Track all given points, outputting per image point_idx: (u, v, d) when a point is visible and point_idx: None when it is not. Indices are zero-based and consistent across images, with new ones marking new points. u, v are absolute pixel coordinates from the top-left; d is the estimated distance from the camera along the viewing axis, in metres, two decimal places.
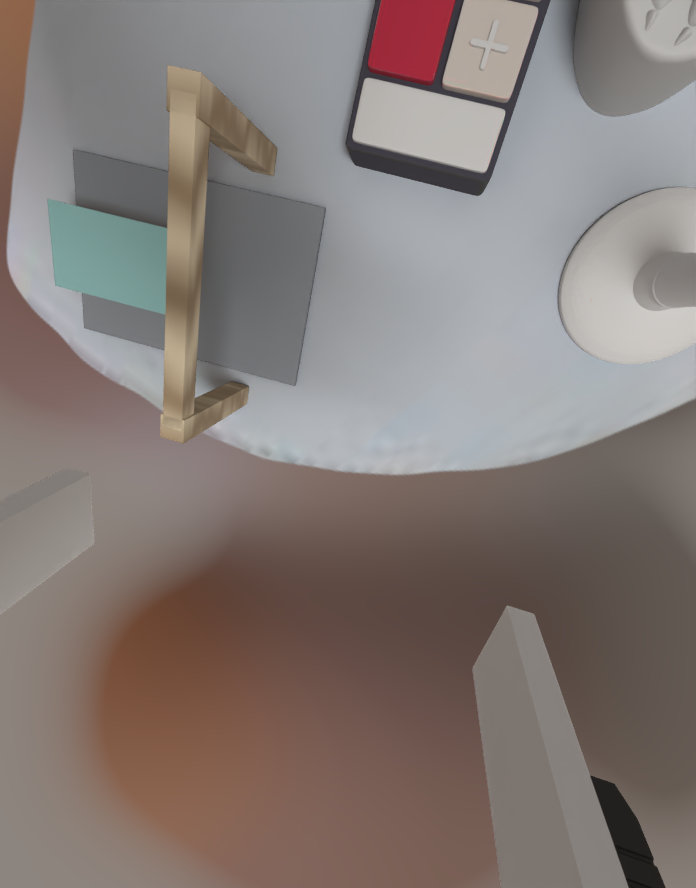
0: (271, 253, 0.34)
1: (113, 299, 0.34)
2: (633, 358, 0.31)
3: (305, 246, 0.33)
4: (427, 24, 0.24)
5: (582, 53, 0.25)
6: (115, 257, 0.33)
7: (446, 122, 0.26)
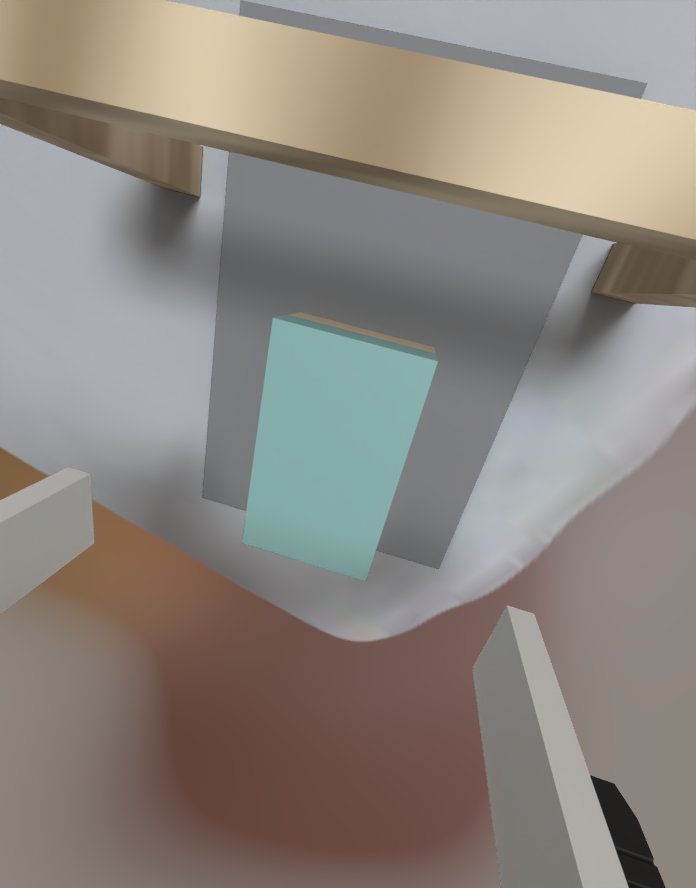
0: None
1: (393, 486, 0.17)
2: None
3: None
4: None
5: None
6: (321, 459, 0.18)
7: None
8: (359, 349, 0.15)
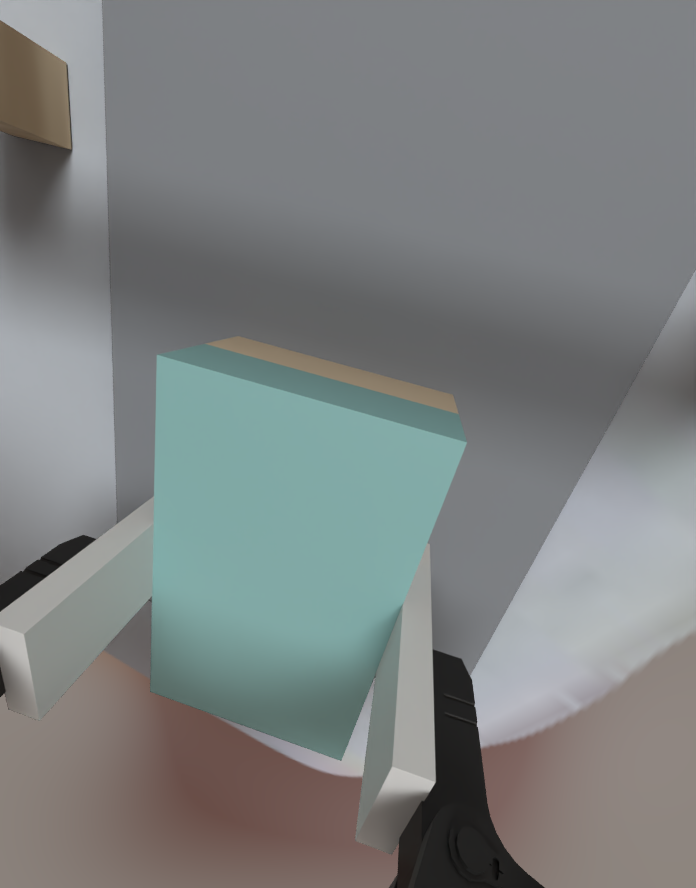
0: (265, 60, 0.09)
1: (384, 638, 0.10)
2: None
3: None
4: None
5: None
6: (260, 589, 0.10)
7: None
8: (317, 415, 0.08)
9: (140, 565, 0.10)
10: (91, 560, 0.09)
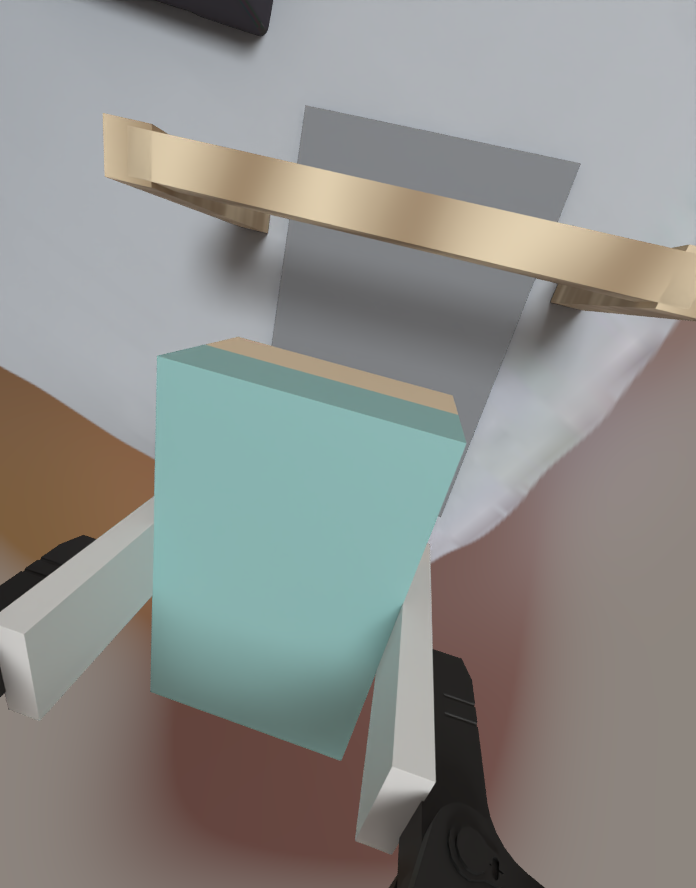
0: None
1: (384, 638, 0.10)
2: None
3: (353, 140, 0.22)
4: None
5: None
6: (260, 589, 0.10)
7: None
8: (317, 416, 0.08)
9: (140, 565, 0.10)
10: (91, 560, 0.09)
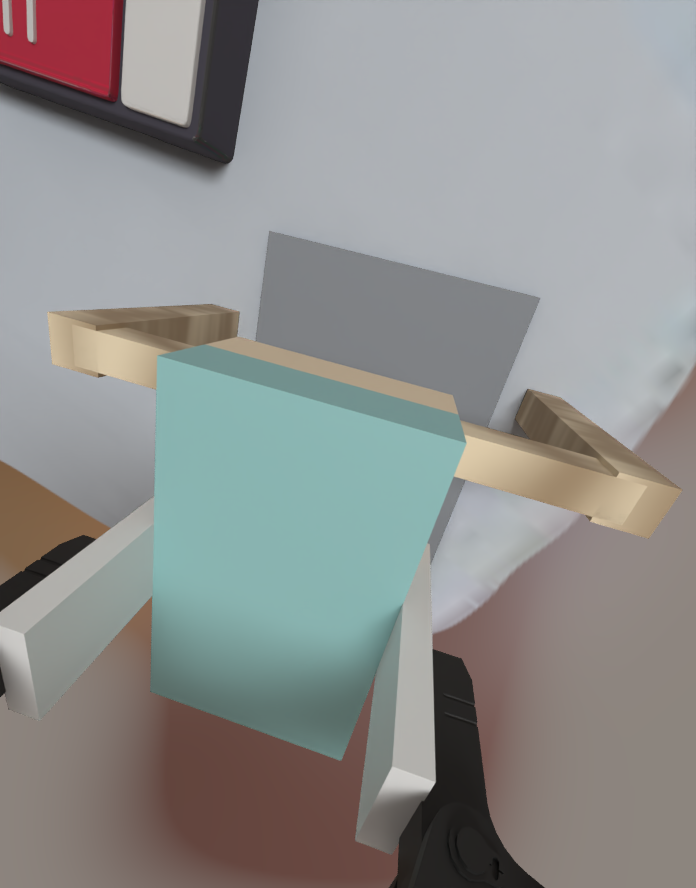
0: (326, 322, 0.23)
1: (384, 638, 0.10)
2: None
3: (317, 265, 0.22)
4: None
5: None
6: (260, 589, 0.10)
7: None
8: (317, 416, 0.08)
9: (140, 565, 0.10)
10: (91, 560, 0.09)
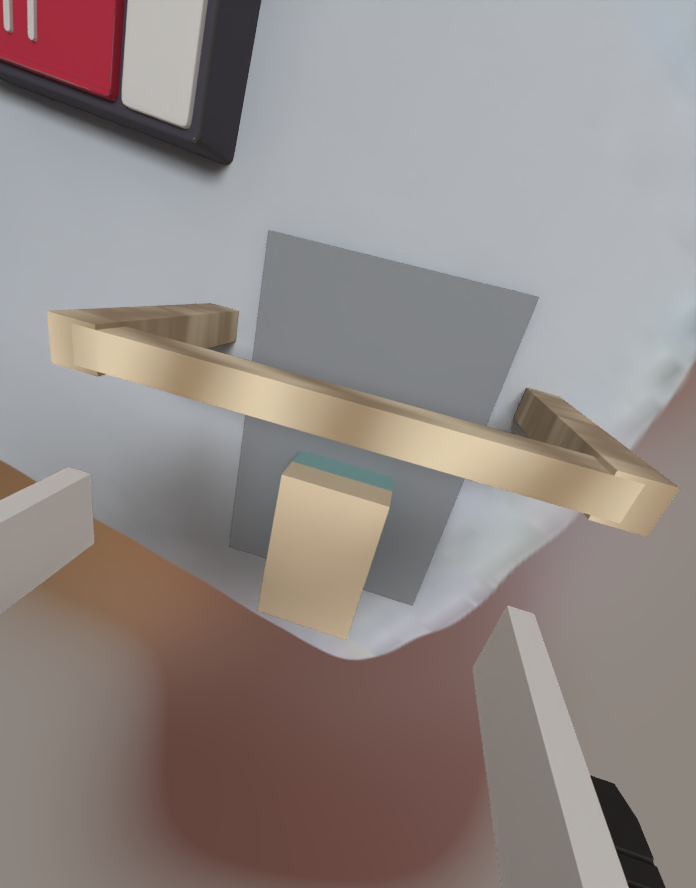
0: (325, 322, 0.23)
1: None
2: None
3: (316, 264, 0.22)
4: None
5: None
6: None
7: None
8: None
9: None
10: None
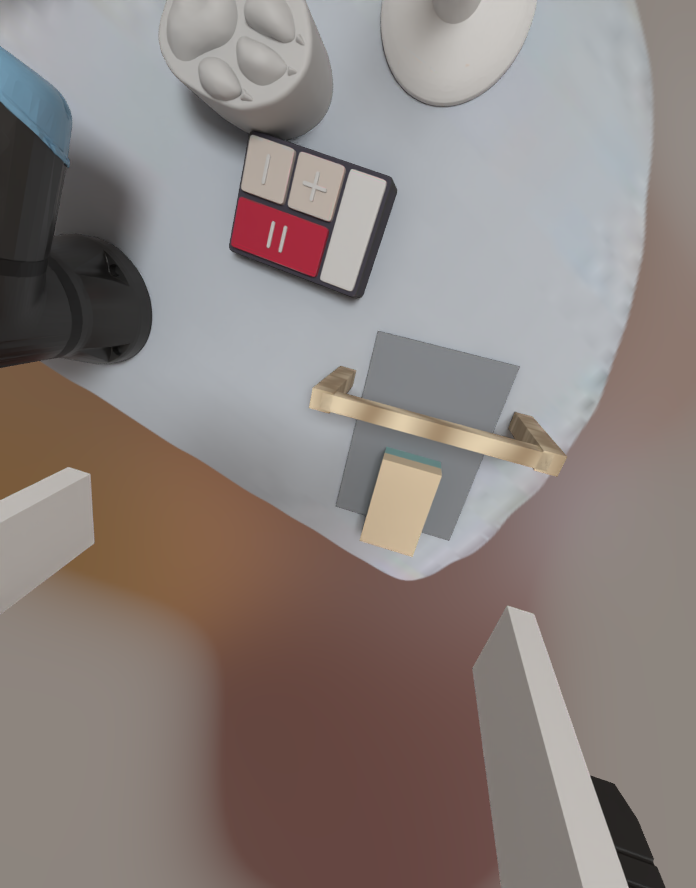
0: (405, 377, 0.44)
1: None
2: None
3: (403, 348, 0.43)
4: (299, 233, 0.38)
5: (300, 126, 0.36)
6: None
7: (351, 216, 0.36)
8: None
9: None
10: None
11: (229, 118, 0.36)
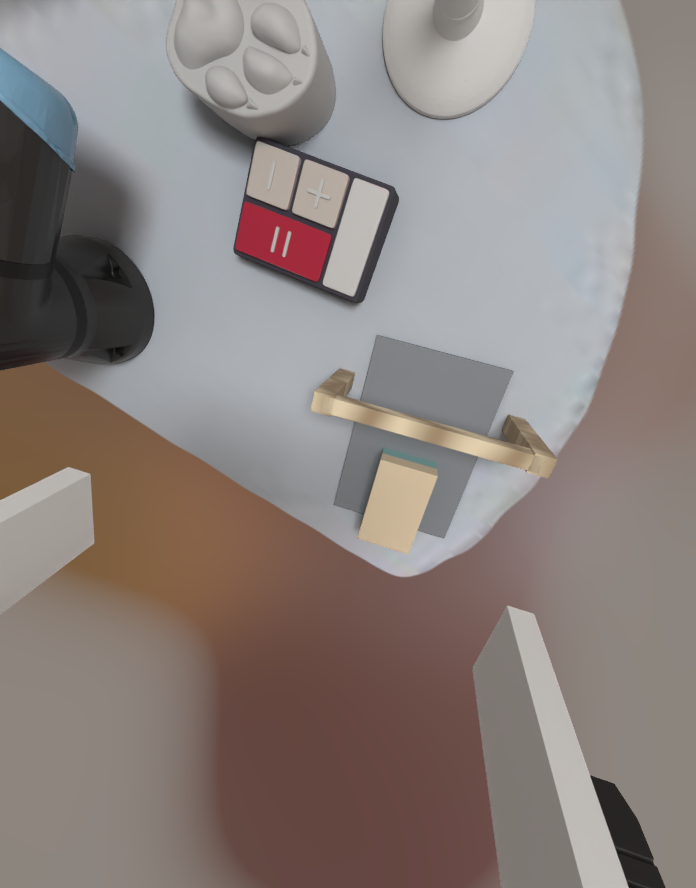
0: (403, 380, 0.45)
1: None
2: (529, 10, 0.31)
3: (401, 352, 0.44)
4: (303, 238, 0.38)
5: (303, 133, 0.37)
6: None
7: (354, 224, 0.37)
8: None
9: None
10: None
11: (234, 124, 0.36)
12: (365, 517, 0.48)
